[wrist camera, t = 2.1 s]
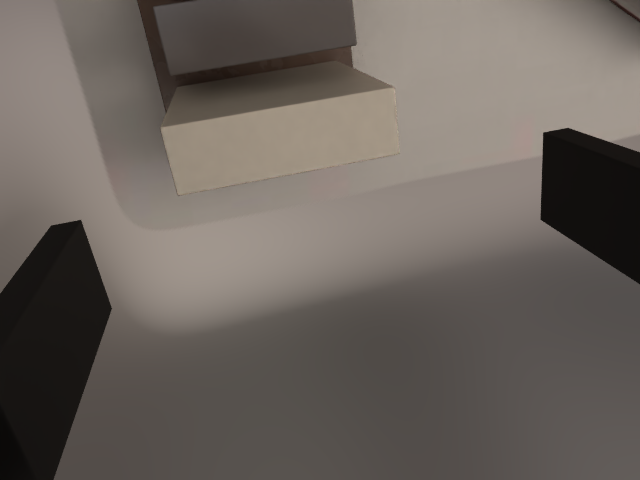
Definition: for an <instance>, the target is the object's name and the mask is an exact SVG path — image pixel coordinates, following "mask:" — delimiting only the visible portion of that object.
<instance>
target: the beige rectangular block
mask: <svg viewBox="0 0 640 480" xmlns="http://www.w3.org/2000/svg"><path fill="white" fill-rule="evenodd" d="M160 130H161V134H162V138H163V142H164V146H165V149H166V153H167V157H168V161H169V164H170V168H171V172H172V176H173V180H174V183H175V187H176V191H177V195H178V196H180V195H185V194H191V193H196V192H201V191H207V190H212V189H217V188H222V187H228V186H233V185H238V184H244V183H249V182H254V181H260V180H265V179H270V178H275V177H281V176H286V175H291V174H297V173H302V172H307V171H313V170H318V169H323V168H328V167H334V166H339V165H344V164H350V163H355V162H360V161H365V160H371V159H376V158H381V157H387V156H392V155H397V154H400V150H399V137H398V124H397V111H396V98H395V87H393V86H391V85H389V84H387V83H385V82H382V81H380V80H378V79H376V78H374V77H371V76H369V75H367V74H365V73H363V72H360V71H358V70H356V69H354V68H352V67H349V66H347V65H345V64H343V63H341V62H338V61H330V62H324V63H318V64H312V65H306V66H300V67H294V68H288V69H282V70H276V71H270V72H264V73H258V74H252V75H246V76H240V77H234V78H229V79H223V80H217V81H211V82H205V83H199V84H193V85H187V86H181V87H177V88H176V91H175V93H174V96H173V98H172V101H171V103H170V105H169V108H168V110H167V113H166V115H165V117H164V120H163V122H162V125H161V127H160Z"/></svg>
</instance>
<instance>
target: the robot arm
mask: <svg viewBox="0 0 640 480" xmlns="http://www.w3.org/2000/svg"><path fill="white" fill-rule="evenodd" d="M541 193H542V194H541V220H542V221H543V222H545V223H546V224H548V225H549V226H551V227H553V228H554V229H556V230H557V231H559V232H560V233H562V234H563V235H565V236H566V237H568V238H569V239H571V240H573V241H574V242H576V243H577V244H579V245H580V246H582V247H583V248H585V249H587V250H588V251H590V252H591V253H593V254H594V255H596V256H597V257H599V258H600V259H602V260H603V261H605V262H606V263H608V264H610V265H611V266H613V267H614V268H616V269H617V270H619V271H620V272H622V273H624V274H625V275H626V276H628V277H630V278H631V279H633V280H634V281H636V282H637V283H639V284H640V152H637V151H634V150H631V149H628V148H625V147H622V146H619V145H616V144H614V143H611V142H608V141H605V140H602V139H599V138H596V137H593V136H590V135H587V134H584V133H581V132H578V131H575V130H572V129H569V128H565V129H560V130H555V131H549V132H544V133H543V163H542V192H541ZM111 309H112V308H111V305H110V302H109V299H108V296H107V293H106V290H105V287H104V285H103V282H102V279H101V276H100V273H99V270H98V267H97V264H96V262H95V259H94V256H93V253H92V250H91V247H90V244H89V241H88V239H87V236H86V233H85V230H84V228H83V224H82V221H81V220H78V221H73V222H68V223H63V224H58V225H52V226H51V227H50V228H49V229H48V231H47V232H46V233H45V235H44V236H43V237H42V239H41V240H40V241H39V243H38V244H37V245H36V247H35V248H34V250H33V251H32V252H31V253H30V255H29V256H28V257H27V259H26V260H25V261H24V263H23V264H22V265H21V267H20V268H19V269H18V271H17V272H16V273H15V275H14V276H13V277H12V279H11V280H10V281H9V283H8V284H7V285H6V287H5V288H4V289H3V291H2V292H1V293H0V480H53V479H54V476H55V474H56V471H57V467H58V465H59V462H60V459H61V456H62V453H63V450H64V447H65V444H66V441H67V438H68V435H69V433H70V430H71V426H72V423H73V421H74V418H75V415H76V412H77V409H78V406H79V403H80V400H81V397H82V394H83V392H84V389H85V386H86V383H87V380H88V377H89V374H90V371H91V368H92V365H93V362H94V359H95V356H96V353H97V350H98V347H99V345H100V341H101V339H102V336H103V333H104V330H105V327H106V324H107V321H108V318H109V315H110V312H111Z"/></svg>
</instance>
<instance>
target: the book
mask: <svg viewBox="0 0 640 480" xmlns="http://www.w3.org/2000/svg"><path fill="white" fill-rule="evenodd" d="M610 1H611V2H613V3H614V4H615V5H617V6H618V7H619V8H621V9H622V10H623V11H625V12H626V13H627V14H629V15H630V16H632V17H633V18H635V19H636V20H638V21H639V22H640V0H610Z"/></svg>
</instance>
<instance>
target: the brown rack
mask: <svg viewBox="0 0 640 480" xmlns="http://www.w3.org/2000/svg"><path fill="white" fill-rule="evenodd" d="M137 1H138V5H139V9H140V13H141V17H142V21H143V24H144V28H145V32H146V36H147V40H148V44H149V48H150V52H151V56H152V60H153V64H154V67H155V71H156V75H157V79H158V83H159V87H160V91H161V95H162V99H163V103H164V107H165V110H166V113H167V110H168V108H169V105H170V103H171V101H172V98H173V96H174V93H175V91H176V88H177V87H181V86H187V85H193V84H199V83H205V82H211V81H217V80H223V79H229V78H234V77H240V76H246V75H252V74H258V73H264V72H270V71H276V70H282V69H288V68H294V67H300V66H306V65H312V64H318V63H324V62H330V61H338V62H341V63H343V64H345V65H347V66H349V67H352V68H353V64H352V54H351V46H355V45H356V44H357V42H356V32H355V22H354V12H353V3H352V0H137Z"/></svg>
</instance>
